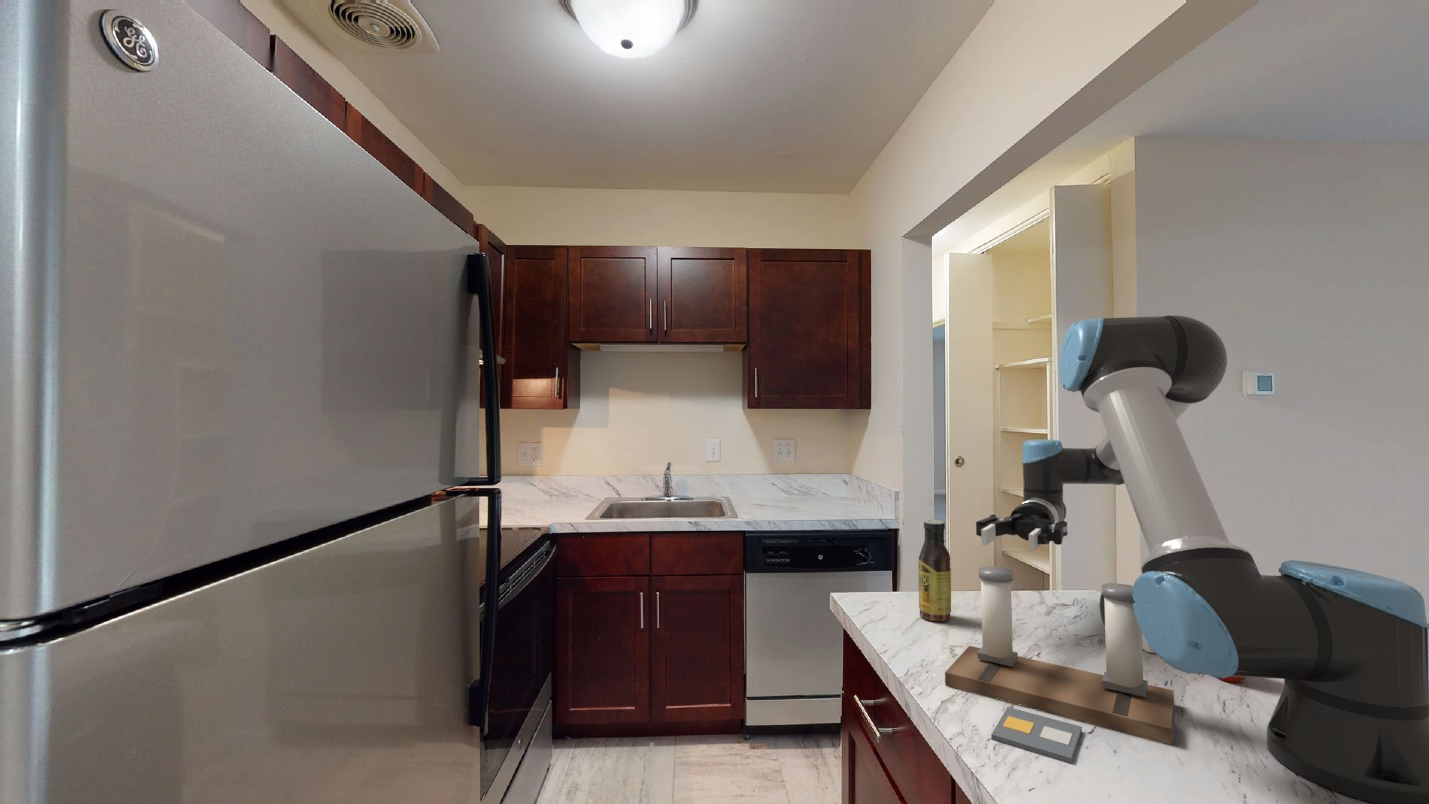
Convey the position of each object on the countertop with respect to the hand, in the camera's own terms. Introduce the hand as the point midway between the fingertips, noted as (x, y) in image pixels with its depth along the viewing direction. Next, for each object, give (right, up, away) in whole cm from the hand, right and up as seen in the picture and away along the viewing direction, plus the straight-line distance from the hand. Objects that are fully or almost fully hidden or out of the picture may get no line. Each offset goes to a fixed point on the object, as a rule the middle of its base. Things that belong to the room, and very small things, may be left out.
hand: (1007, 540), depth 104 cm
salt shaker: (+26, -20, +2) cm, 33 cm away
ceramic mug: (+28, -20, +12) cm, 37 cm away
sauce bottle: (-5, -21, +19) cm, 29 cm away
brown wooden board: (0, -20, -14) cm, 24 cm away
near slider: (+9, -17, -17) cm, 26 cm away
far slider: (-5, -18, -7) cm, 19 cm away
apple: (+30, -20, -10) cm, 37 cm away
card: (-8, -20, -25) cm, 33 cm away
